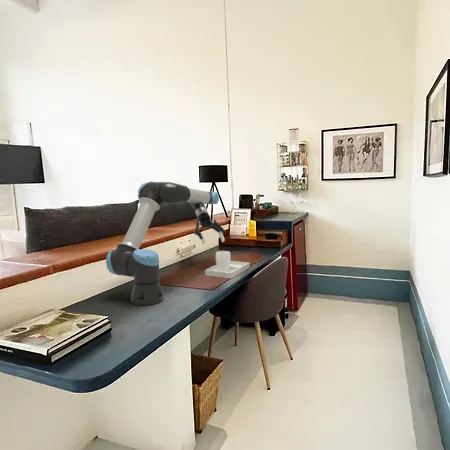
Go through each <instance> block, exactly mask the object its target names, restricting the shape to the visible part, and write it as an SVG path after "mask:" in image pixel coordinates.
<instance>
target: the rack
mask: <svg viewBox="0 0 450 450" xmlns="http://www.w3.org/2000/svg"><path fill="white" fill-rule="evenodd" d="M249 268H250V262H245V261H235V260H230V266H229V272H220V271H217V264H215V265H212V266H210V267H209V268H206V269H204V275H205V276H208V277H209V276H210V277H216V278H217V277H218V278H225V279H232V278H234V277H236V276H237V275H239V274H241V273H243V272H244V271H246V270H247V269H249Z"/></svg>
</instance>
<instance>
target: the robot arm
mask: <svg viewBox="0 0 450 450" xmlns="http://www.w3.org/2000/svg"><path fill="white" fill-rule="evenodd" d="M219 196H220V195H219V193H218V192H216V191H215V192H214V191H206V190H201V189H196V188H195V189H194V188H189V187H188V186H186V185H183V184H179V183H174V182H170V181H148V182H147V181H146V182H143V183H142V184H141V185H140V186H139V188H138V190H137V198H138V203H139V206H138V208H137V211H136V213H135V215H134V217H133V219H132V220H131V221H132V222H131V224H130V226H129V228H128V230H127V232H126V234H125V236H124V239H123V240H122V242H121V243H119V244H117V246H116V249H113V250H110V251H109V252H108V253H107V254H106V255H107V256H106V259H105V263H106V264H105V265H106V268H107V269H106V270H108V272H109V273H111V274H112V275H116V276H123V277H130V278H133V288H132V291H131V294H130V295H131V296H130V303H132V304H133V305H138V306H149V305H150V306H151V305H156V304H160V303H161V302H163V301H164V299H165V298H164V292H163V289H162V286H161V283H160V257H159V254H158V253H157V252H156V251H155V250H152V249H140V247H141V245H142V243H143V241H144V239H145V236H146V233H147V232H148V230H149V227H150V224H151V222H152V220H153V218H154V215H155V213H156V212H157V211H159V210H160V208H161V206H162V205H172V204H186V203H189V205H190V206H191V207H192V209H193V210H194V213H195V215H196V217H197V219H198V220H196V222H195V231H194V235H195V236H197V237H198V238H199V240H201V242H202V245H205V244H206V239H205V237H204V234H203V230H204V228H205V229H206V228H207V229H208V228H210V229H212V230H213V231H215V232H217V233H218V236H219V238H220V240H221V242H222V243H224V242H225V240H226V239H225V237H224V236H225V235H224V233H225V229H224V227H223V226H221V225H220V224H219V223H218V222H217V220H216V219H213V220H211V217H210V214H209V212H208V209H207V208H206V205H217V204H218V203H219V200H220V197H219ZM200 226H201V227H200ZM199 227H200V229H199Z"/></svg>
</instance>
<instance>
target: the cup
mask: <svg viewBox="0 0 450 450" xmlns="http://www.w3.org/2000/svg"><path fill="white" fill-rule="evenodd" d="M230 261H231V252H230V251H227V250H219V251H216V252H215V265H217V271H220V272H229V266H230Z"/></svg>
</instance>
